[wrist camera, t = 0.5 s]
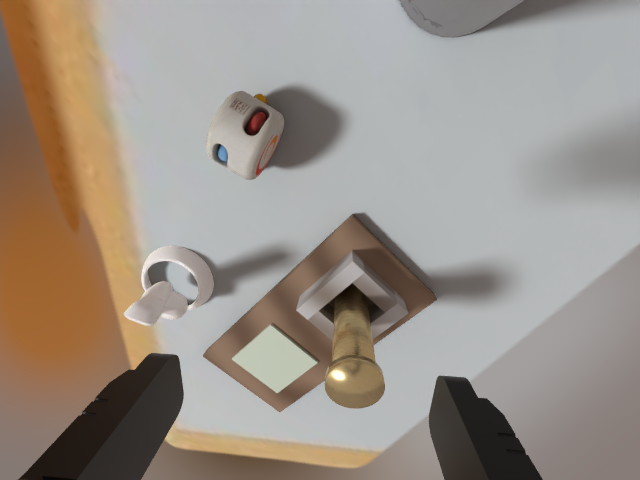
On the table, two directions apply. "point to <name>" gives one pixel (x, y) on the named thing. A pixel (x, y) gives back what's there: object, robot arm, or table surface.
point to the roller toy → (244, 134)
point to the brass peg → (353, 354)
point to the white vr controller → (170, 288)
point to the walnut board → (324, 306)
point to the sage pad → (274, 359)
